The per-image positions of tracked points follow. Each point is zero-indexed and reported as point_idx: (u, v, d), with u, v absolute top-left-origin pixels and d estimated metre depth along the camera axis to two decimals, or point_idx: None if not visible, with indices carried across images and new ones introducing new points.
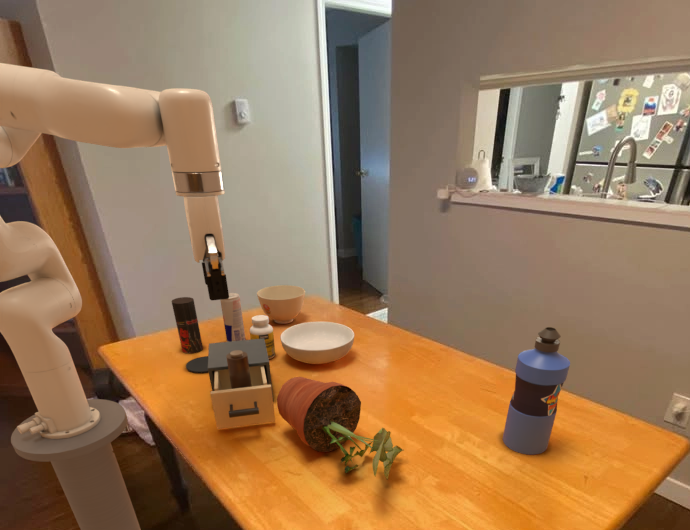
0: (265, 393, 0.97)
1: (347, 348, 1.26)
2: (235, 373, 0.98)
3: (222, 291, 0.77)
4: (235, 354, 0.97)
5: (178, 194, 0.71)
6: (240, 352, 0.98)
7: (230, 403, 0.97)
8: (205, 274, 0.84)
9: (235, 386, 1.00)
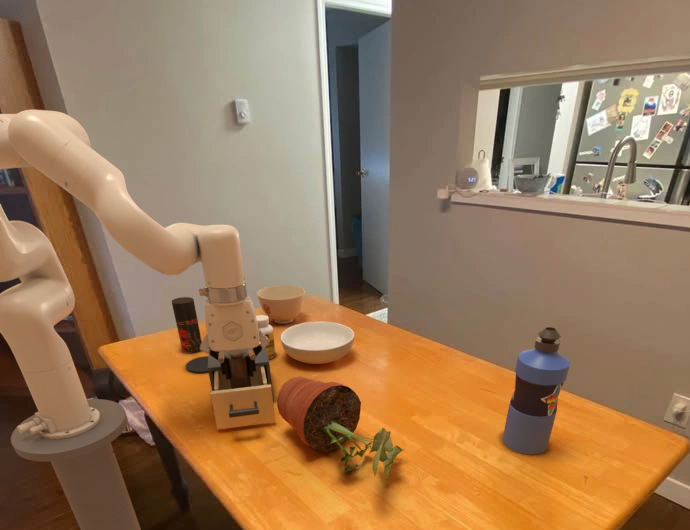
0: (265, 393, 0.97)
1: (347, 348, 1.26)
2: (235, 373, 0.98)
3: None
4: (235, 354, 0.97)
5: (236, 303, 0.89)
6: (240, 352, 0.98)
7: (230, 403, 0.97)
8: (228, 371, 0.98)
9: (235, 386, 1.00)
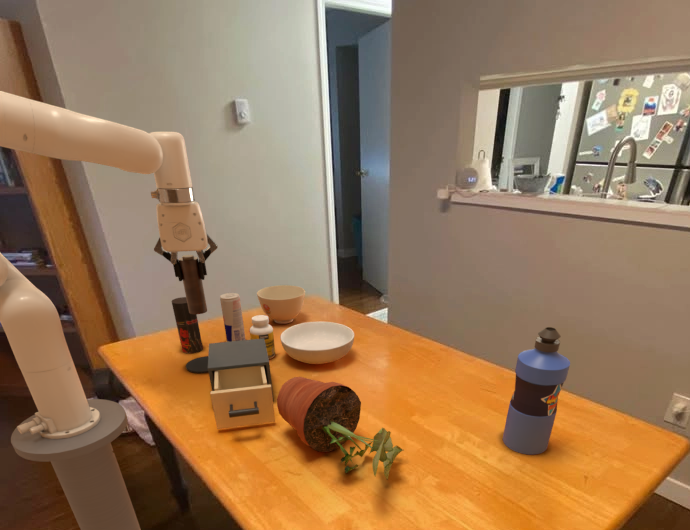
0: (265, 393, 0.97)
1: (347, 348, 1.26)
2: (187, 274, 1.09)
3: (206, 271, 1.12)
4: (186, 257, 1.08)
5: (183, 204, 1.01)
6: (191, 255, 1.09)
7: (230, 403, 0.97)
8: (180, 272, 1.09)
9: (187, 288, 1.11)
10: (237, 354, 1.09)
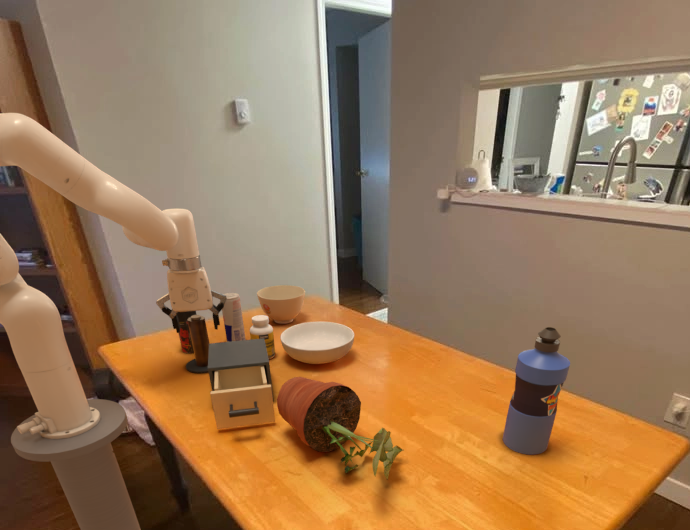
0: (265, 393, 0.97)
1: (347, 348, 1.26)
2: (195, 333, 1.21)
3: (219, 321, 1.24)
4: (194, 317, 1.20)
5: (191, 271, 1.12)
6: (198, 316, 1.21)
7: (230, 403, 0.97)
8: (178, 325, 1.20)
9: (195, 344, 1.23)
10: (237, 354, 1.09)
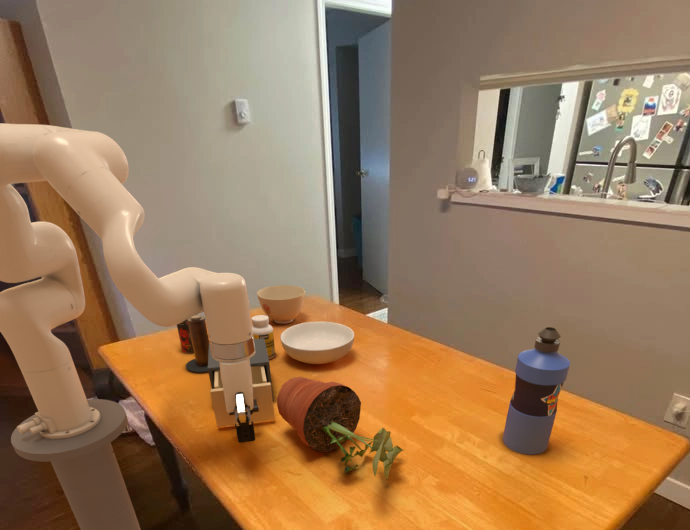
0: (265, 391, 0.98)
1: (347, 348, 1.26)
2: (195, 333, 1.21)
3: (249, 436, 0.85)
4: (194, 317, 1.20)
5: (213, 358, 0.80)
6: (198, 316, 1.21)
7: None
8: (237, 408, 0.93)
9: (195, 344, 1.23)
10: None
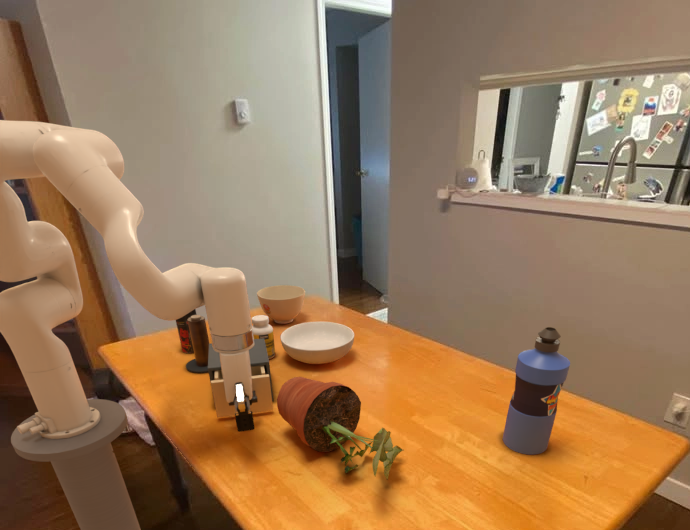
0: (263, 382, 1.02)
1: (347, 348, 1.26)
2: (195, 333, 1.21)
3: (248, 425, 0.88)
4: (194, 317, 1.20)
5: (214, 349, 0.83)
6: (198, 316, 1.21)
7: None
8: None
9: (195, 344, 1.23)
10: None
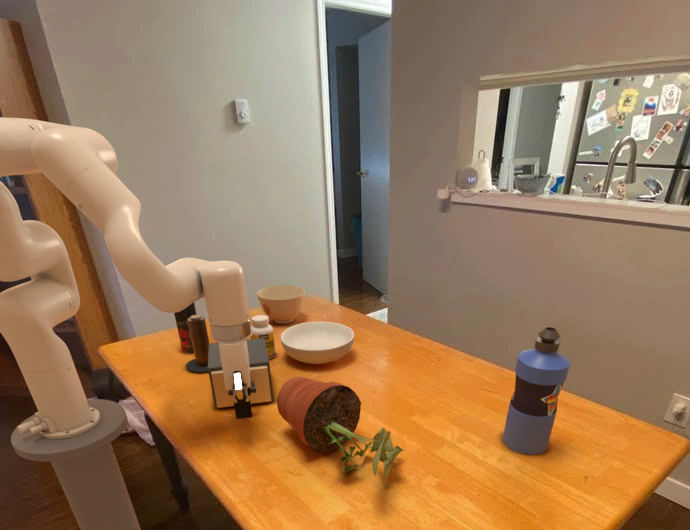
0: (262, 374, 1.05)
1: (347, 348, 1.26)
2: (195, 333, 1.21)
3: (246, 413, 0.92)
4: (194, 317, 1.20)
5: (213, 339, 0.87)
6: (198, 316, 1.21)
7: None
8: None
9: (195, 344, 1.23)
10: None
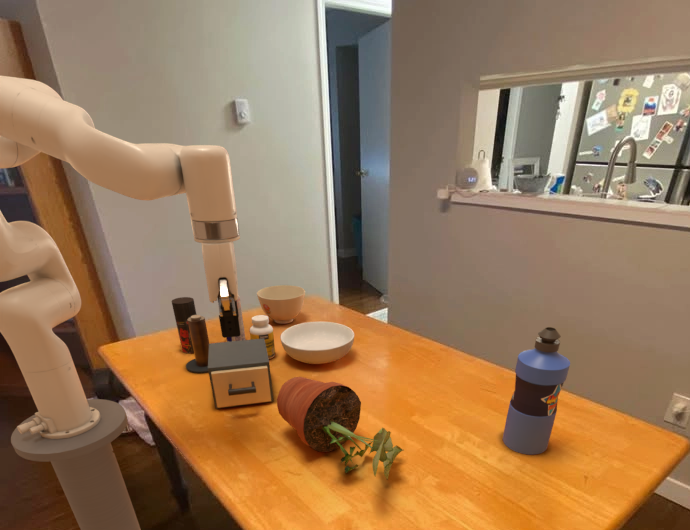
0: (262, 374, 1.05)
1: (347, 348, 1.26)
2: (195, 333, 1.21)
3: (234, 329, 0.81)
4: (194, 317, 1.20)
5: (195, 240, 0.76)
6: (198, 316, 1.21)
7: (229, 383, 1.04)
8: None
9: (195, 344, 1.23)
10: (237, 354, 1.09)
